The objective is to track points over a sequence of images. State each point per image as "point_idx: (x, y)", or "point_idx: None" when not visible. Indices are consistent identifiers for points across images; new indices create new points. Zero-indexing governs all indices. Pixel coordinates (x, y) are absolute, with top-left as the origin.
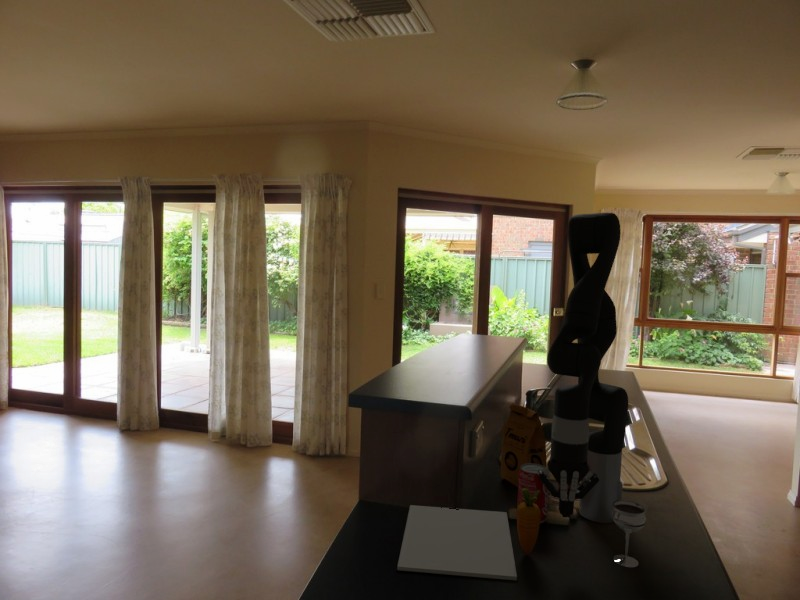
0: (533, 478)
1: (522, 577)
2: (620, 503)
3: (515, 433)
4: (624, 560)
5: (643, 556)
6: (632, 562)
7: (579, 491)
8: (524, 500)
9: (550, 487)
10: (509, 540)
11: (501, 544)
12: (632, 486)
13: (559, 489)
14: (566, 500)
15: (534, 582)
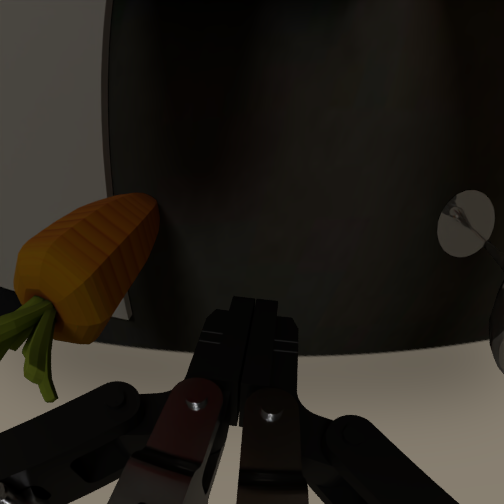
0: None
1: (143, 303)
2: None
3: None
4: (460, 239)
5: None
6: (475, 244)
7: (333, 481)
8: (16, 345)
9: (89, 474)
10: (97, 142)
11: (78, 173)
12: None
13: (163, 435)
14: (232, 420)
15: (170, 321)
